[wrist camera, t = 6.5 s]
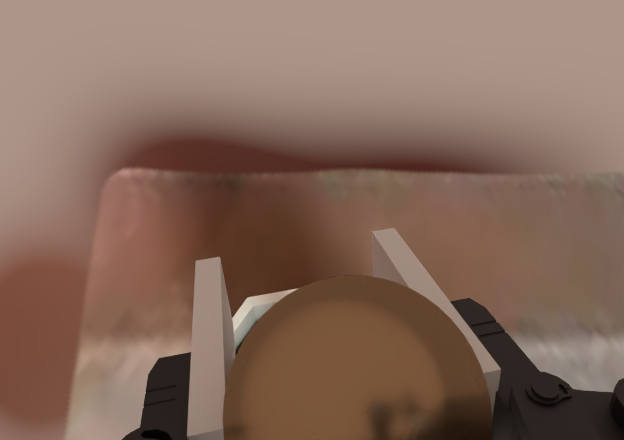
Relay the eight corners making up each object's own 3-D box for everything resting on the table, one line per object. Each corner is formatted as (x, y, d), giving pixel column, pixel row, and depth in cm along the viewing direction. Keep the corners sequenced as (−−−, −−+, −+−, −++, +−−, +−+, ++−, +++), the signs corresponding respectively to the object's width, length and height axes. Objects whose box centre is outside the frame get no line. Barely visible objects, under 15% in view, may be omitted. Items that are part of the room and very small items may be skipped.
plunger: (346, 311, 31) (494, 179, 10) (373, 441, 29) (638, 607, 8) (224, 334, 30) (120, 238, 9) (242, 472, 28) (157, 753, 7)
